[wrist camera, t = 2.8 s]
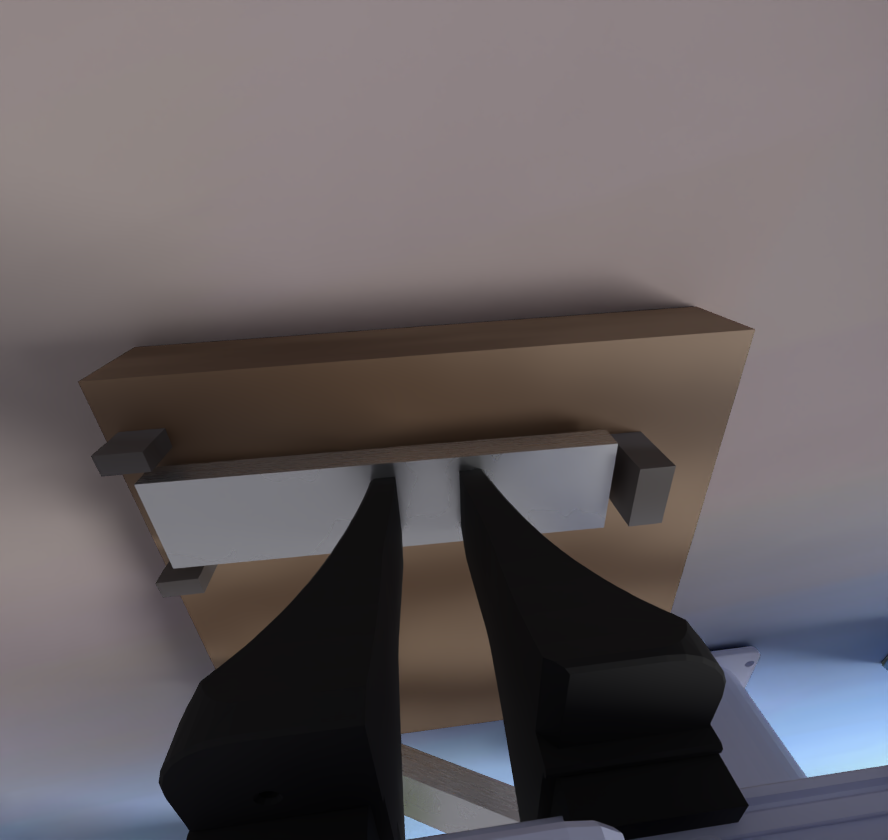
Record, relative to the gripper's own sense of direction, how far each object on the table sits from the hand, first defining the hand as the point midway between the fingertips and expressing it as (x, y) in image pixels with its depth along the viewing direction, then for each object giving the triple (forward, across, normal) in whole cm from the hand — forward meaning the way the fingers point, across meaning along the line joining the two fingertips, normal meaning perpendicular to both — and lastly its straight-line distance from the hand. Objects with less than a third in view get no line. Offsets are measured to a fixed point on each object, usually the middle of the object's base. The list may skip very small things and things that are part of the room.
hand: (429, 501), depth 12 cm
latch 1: (+1, +1, 0) cm, 1 cm away
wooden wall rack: (+4, 0, +5) cm, 6 cm away
